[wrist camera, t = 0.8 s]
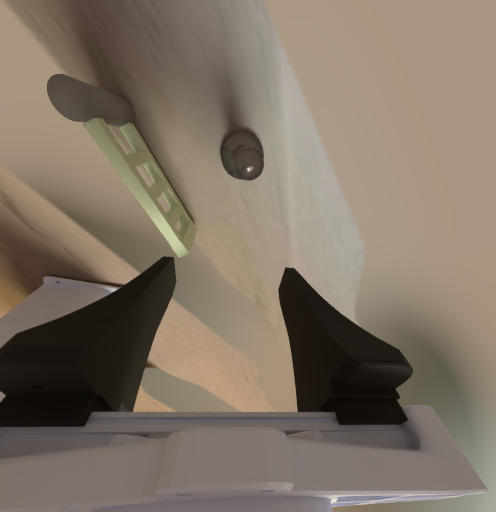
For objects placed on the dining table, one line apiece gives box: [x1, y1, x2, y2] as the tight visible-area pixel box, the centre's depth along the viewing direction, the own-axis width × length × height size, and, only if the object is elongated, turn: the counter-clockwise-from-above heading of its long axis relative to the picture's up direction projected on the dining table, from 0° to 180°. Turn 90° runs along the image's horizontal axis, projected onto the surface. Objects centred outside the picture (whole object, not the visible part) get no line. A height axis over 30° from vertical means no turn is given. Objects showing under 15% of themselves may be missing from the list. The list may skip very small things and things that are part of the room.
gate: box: [47, 74, 197, 258], centre depth 15 cm, size 12×2×6 cm, turn 21°
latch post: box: [221, 132, 264, 180], centre depth 15 cm, size 4×4×6 cm
